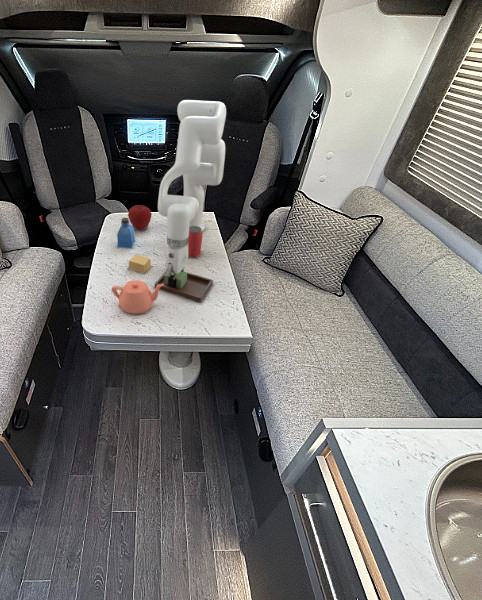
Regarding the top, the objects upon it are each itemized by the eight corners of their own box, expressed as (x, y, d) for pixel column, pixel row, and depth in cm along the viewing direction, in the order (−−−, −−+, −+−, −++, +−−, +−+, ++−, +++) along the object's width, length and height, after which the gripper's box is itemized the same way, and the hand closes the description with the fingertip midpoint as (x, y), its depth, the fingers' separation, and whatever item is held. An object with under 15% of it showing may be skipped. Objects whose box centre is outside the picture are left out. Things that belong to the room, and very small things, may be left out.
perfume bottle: (131, 248, 151) (130, 223, 144) (118, 246, 152) (116, 222, 144) (134, 241, 156) (133, 216, 148) (121, 240, 157) (119, 215, 149)
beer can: (182, 255, 147) (184, 230, 139) (189, 248, 151) (190, 224, 144) (196, 259, 144) (199, 234, 137) (202, 252, 149) (205, 227, 141)
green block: (170, 276, 134) (170, 267, 131) (186, 281, 131) (187, 272, 129) (164, 283, 130) (164, 275, 127) (180, 289, 127) (181, 280, 125)
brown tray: (169, 271, 137) (169, 267, 136) (212, 284, 131) (213, 279, 129) (154, 288, 128) (154, 283, 127) (200, 302, 122) (200, 298, 121)
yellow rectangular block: (135, 262, 142) (135, 254, 140) (150, 266, 140) (150, 258, 137) (129, 269, 138) (128, 260, 136) (144, 273, 136) (143, 265, 133)
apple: (155, 226, 167) (155, 203, 160) (144, 235, 160) (144, 212, 153) (136, 221, 171) (135, 199, 164) (124, 230, 164) (123, 207, 157)
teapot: (115, 293, 126) (113, 272, 120) (163, 294, 126) (164, 273, 120) (111, 315, 116) (108, 293, 110) (163, 316, 116) (164, 294, 110)
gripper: (177, 254, 112) (175, 297, 123) (196, 232, 124) (193, 273, 135) (156, 248, 114) (156, 291, 126) (178, 227, 126) (176, 268, 138)
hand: (175, 281), depth 130 cm, fingers closed on green block, 5 cm apart
